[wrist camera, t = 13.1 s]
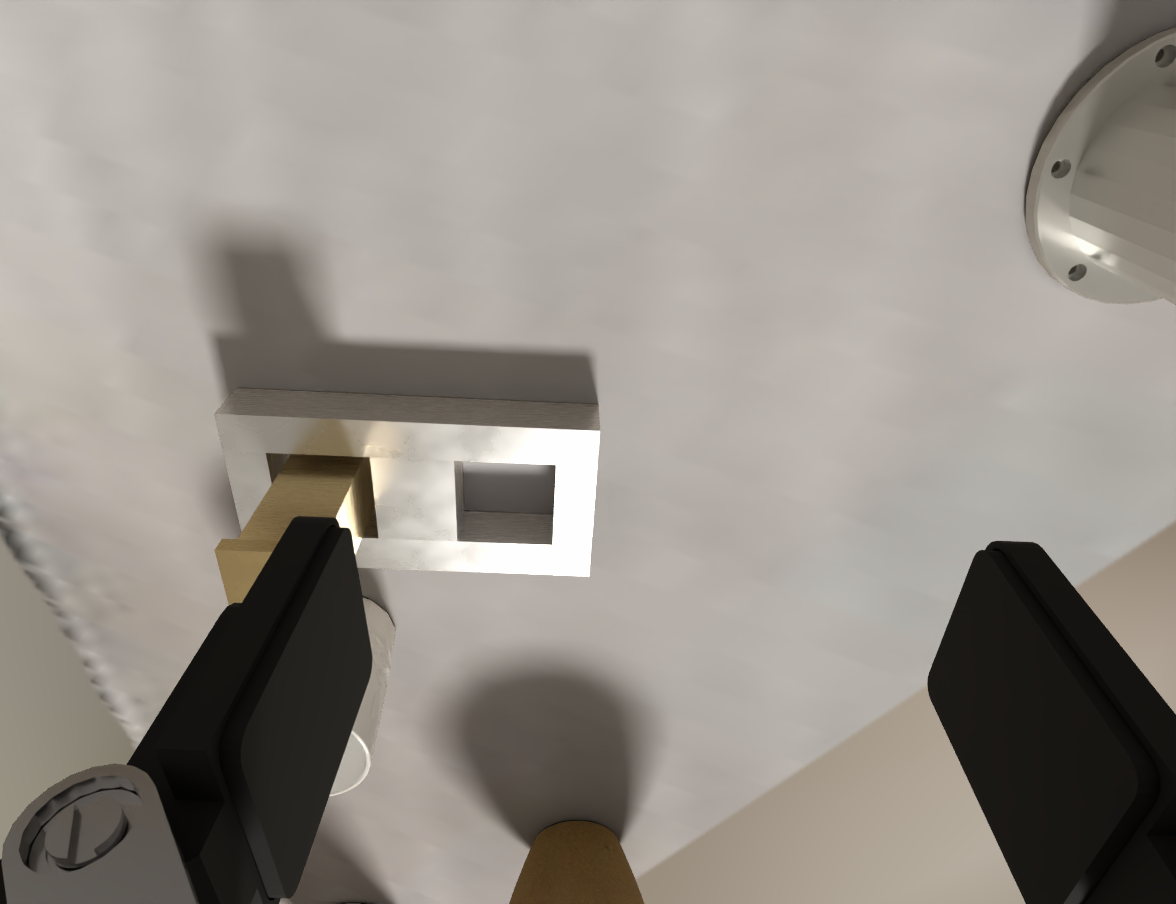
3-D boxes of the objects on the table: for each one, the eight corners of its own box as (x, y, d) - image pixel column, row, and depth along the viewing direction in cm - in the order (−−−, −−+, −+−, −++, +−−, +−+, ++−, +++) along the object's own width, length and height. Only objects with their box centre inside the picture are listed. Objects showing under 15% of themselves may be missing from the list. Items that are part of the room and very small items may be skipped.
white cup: (288, 574, 48) (225, 699, 39) (410, 594, 49) (376, 720, 40) (285, 659, 52) (228, 789, 43) (398, 676, 53) (364, 806, 44)
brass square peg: (378, 434, 42) (323, 553, 33) (385, 502, 45) (336, 631, 36) (293, 430, 42) (214, 550, 33) (305, 499, 45) (235, 628, 35)
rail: (598, 404, 42) (600, 430, 39) (588, 544, 47) (588, 576, 44) (236, 387, 41) (213, 413, 38) (266, 532, 46) (248, 563, 43)
